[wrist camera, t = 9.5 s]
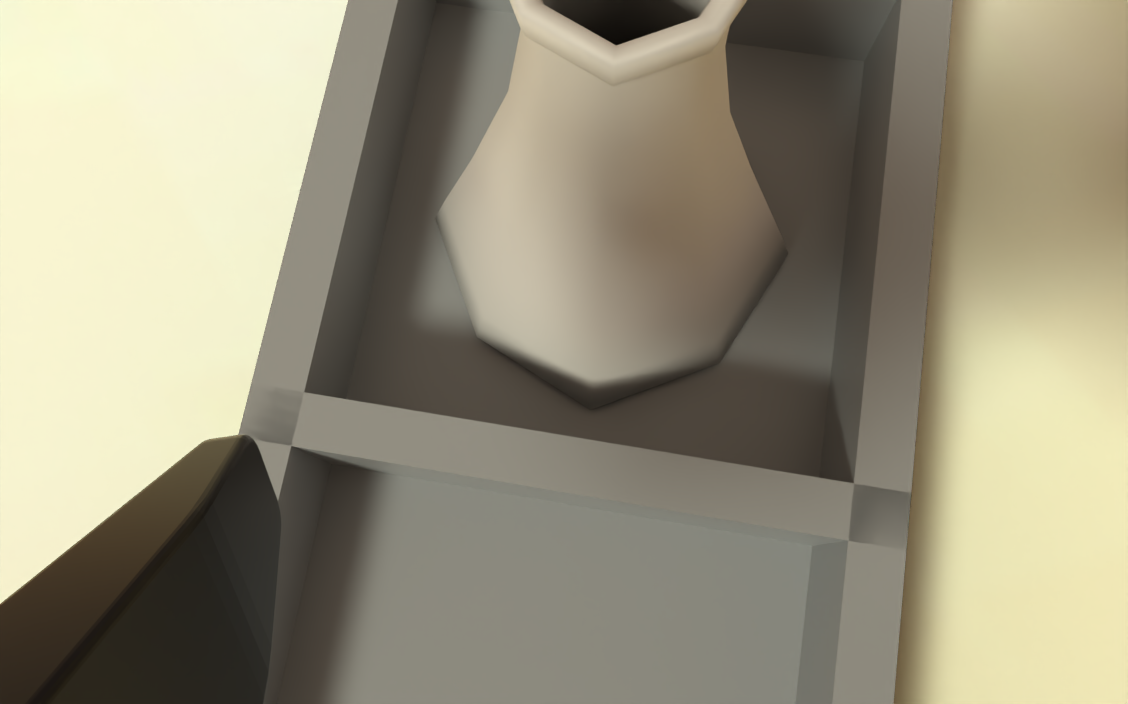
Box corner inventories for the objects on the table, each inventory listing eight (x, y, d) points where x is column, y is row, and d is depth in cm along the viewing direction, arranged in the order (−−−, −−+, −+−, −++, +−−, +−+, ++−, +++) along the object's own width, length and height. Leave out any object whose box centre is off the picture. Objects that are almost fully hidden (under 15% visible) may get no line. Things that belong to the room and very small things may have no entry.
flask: (583, 472, 19) (578, 366, 10) (380, 217, 21) (196, -101, 11) (845, 264, 20) (1081, -27, 11) (632, 33, 22) (668, -409, 12)
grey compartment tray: (792, 1163, 17) (842, 1309, 14) (161, 1029, 18) (61, 1135, 14) (900, 47, 22) (956, -48, 19) (410, -19, 23) (379, -122, 20)
